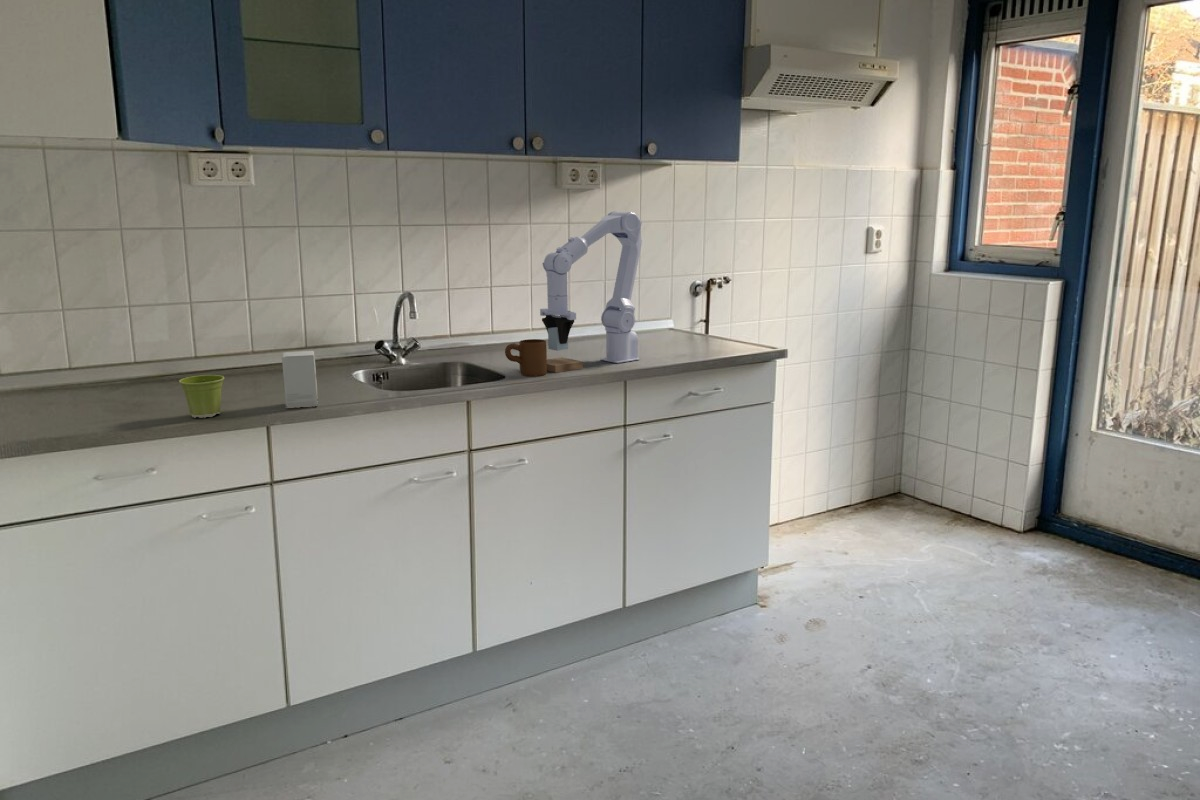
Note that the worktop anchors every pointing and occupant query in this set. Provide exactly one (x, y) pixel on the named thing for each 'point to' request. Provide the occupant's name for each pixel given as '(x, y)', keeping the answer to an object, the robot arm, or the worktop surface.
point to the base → (563, 364)
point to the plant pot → (203, 393)
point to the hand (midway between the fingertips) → (558, 342)
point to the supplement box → (299, 378)
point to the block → (555, 340)
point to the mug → (529, 356)
